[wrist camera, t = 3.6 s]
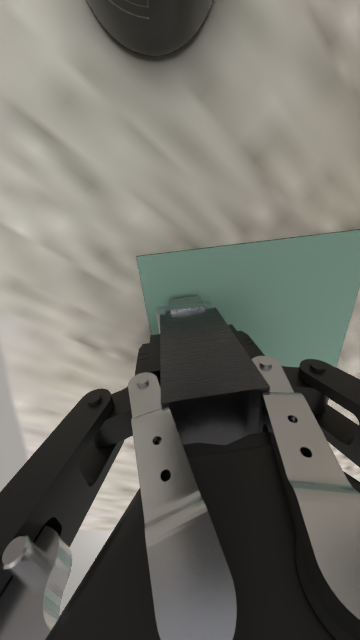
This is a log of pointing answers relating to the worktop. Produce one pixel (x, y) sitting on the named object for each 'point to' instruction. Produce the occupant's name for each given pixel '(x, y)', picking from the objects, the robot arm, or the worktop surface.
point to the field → (267, 290)
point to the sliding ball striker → (207, 376)
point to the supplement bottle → (151, 22)
